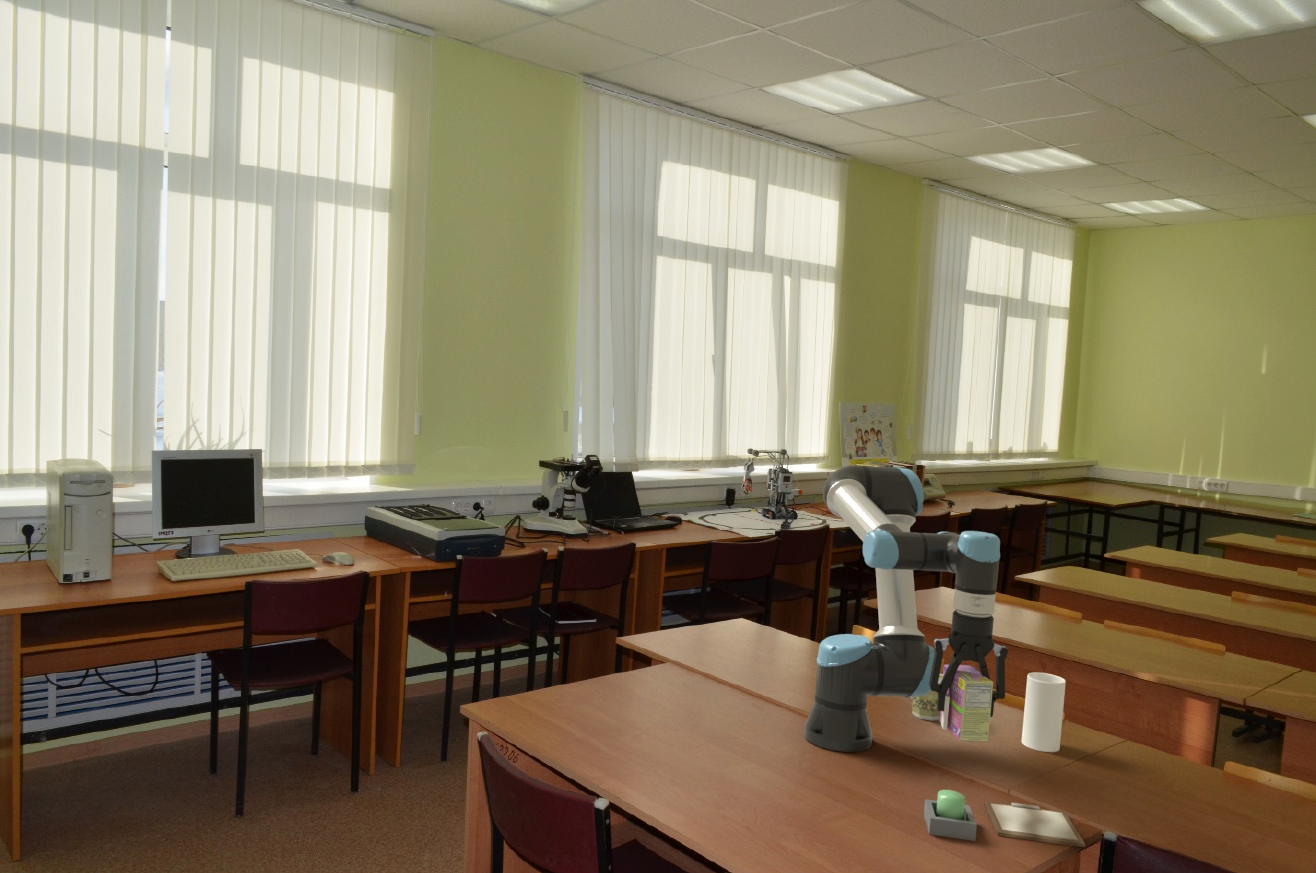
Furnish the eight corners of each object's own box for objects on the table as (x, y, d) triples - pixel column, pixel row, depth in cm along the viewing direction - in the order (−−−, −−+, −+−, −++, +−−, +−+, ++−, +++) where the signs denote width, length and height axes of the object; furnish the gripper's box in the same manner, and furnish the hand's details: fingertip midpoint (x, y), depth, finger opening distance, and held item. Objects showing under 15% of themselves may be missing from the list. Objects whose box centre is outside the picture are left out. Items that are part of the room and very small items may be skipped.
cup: (1063, 754, 210) (1069, 685, 209) (1025, 749, 212) (1031, 680, 211) (1055, 741, 218) (1061, 675, 217) (1018, 736, 220) (1024, 670, 219)
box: (938, 721, 184) (943, 663, 183) (965, 723, 184) (971, 664, 183) (959, 742, 173) (964, 680, 173) (988, 743, 174) (994, 681, 173)
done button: (937, 823, 167) (939, 799, 167) (934, 812, 172) (936, 788, 171) (965, 827, 166) (967, 803, 166) (960, 815, 171) (963, 791, 171)
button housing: (929, 834, 166) (930, 818, 166) (923, 814, 174) (925, 799, 173) (975, 841, 164) (976, 824, 164) (967, 820, 172) (969, 805, 172)
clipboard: (997, 835, 167) (998, 829, 167) (984, 804, 180) (984, 799, 180) (1085, 847, 165) (1085, 841, 165) (1065, 815, 178) (1065, 809, 178)
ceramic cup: (903, 718, 227) (906, 678, 227) (908, 706, 236) (911, 668, 236) (958, 728, 222) (961, 688, 222) (961, 716, 232) (964, 677, 231)
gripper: (923, 611, 175) (913, 730, 177) (1030, 622, 172) (1019, 743, 173) (919, 602, 183) (909, 716, 184) (1021, 613, 180) (1011, 729, 181)
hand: (963, 729), depth 179 cm, fingers closed on box, 6 cm apart
